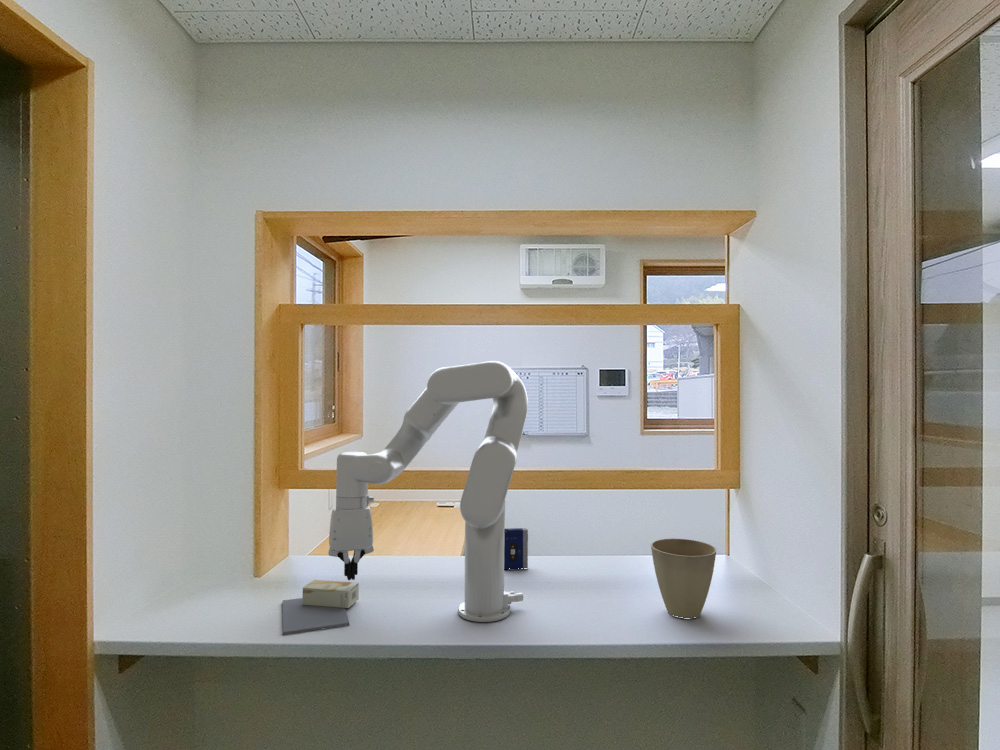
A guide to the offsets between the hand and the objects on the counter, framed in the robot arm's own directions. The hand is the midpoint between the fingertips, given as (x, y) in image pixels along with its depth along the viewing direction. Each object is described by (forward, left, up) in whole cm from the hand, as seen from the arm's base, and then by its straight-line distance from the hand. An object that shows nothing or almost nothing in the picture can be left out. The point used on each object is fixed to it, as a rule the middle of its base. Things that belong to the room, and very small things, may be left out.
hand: (350, 578), depth 138 cm
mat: (+8, 0, -7) cm, 11 cm away
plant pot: (-74, +32, -8) cm, 81 cm away
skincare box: (-1, -1, -5) cm, 5 cm away
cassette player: (-50, -14, -8) cm, 52 cm away
